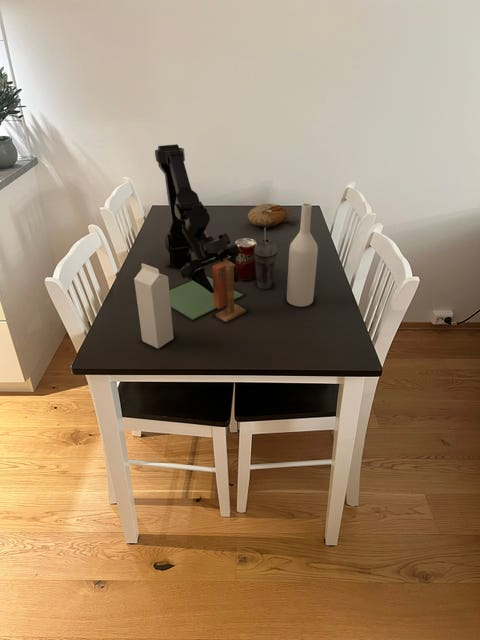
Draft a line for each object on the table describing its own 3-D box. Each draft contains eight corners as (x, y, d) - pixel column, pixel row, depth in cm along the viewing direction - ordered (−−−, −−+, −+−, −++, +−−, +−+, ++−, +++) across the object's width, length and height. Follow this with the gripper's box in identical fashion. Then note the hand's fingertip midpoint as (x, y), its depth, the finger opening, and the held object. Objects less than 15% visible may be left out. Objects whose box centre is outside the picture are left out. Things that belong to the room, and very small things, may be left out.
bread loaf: (296, 218, 209) (301, 234, 197) (246, 216, 208) (247, 232, 196) (299, 200, 205) (304, 215, 193) (247, 198, 203) (249, 213, 191)
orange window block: (213, 306, 145) (212, 265, 138) (227, 299, 148) (226, 259, 141) (219, 309, 143) (218, 268, 136) (232, 302, 146) (232, 262, 139)
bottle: (295, 309, 147) (302, 211, 130) (281, 297, 153) (286, 202, 137) (318, 303, 150) (327, 206, 134) (303, 291, 156) (310, 198, 140)
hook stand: (209, 312, 145) (207, 263, 137) (229, 302, 150) (228, 254, 141) (225, 322, 141) (224, 272, 132) (246, 311, 146) (246, 262, 137)
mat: (155, 297, 153) (155, 296, 153) (205, 276, 165) (205, 275, 164) (192, 320, 142) (192, 318, 142) (243, 295, 154) (243, 294, 153)
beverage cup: (278, 282, 161) (281, 223, 150) (272, 292, 155) (274, 232, 144) (257, 278, 163) (258, 220, 152) (250, 288, 157) (250, 229, 146)
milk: (157, 331, 137) (150, 258, 126) (174, 338, 134) (167, 264, 122) (141, 341, 133) (132, 267, 121) (158, 349, 130) (149, 273, 118)
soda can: (254, 282, 161) (254, 247, 155) (232, 279, 162) (232, 246, 156) (258, 271, 167) (258, 238, 161) (237, 270, 168) (236, 236, 162)
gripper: (184, 235, 130) (213, 287, 130) (235, 217, 141) (262, 265, 140) (168, 254, 139) (195, 302, 139) (218, 235, 150) (243, 280, 149)
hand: (225, 287), depth 142 cm, fingers open, 9 cm apart
